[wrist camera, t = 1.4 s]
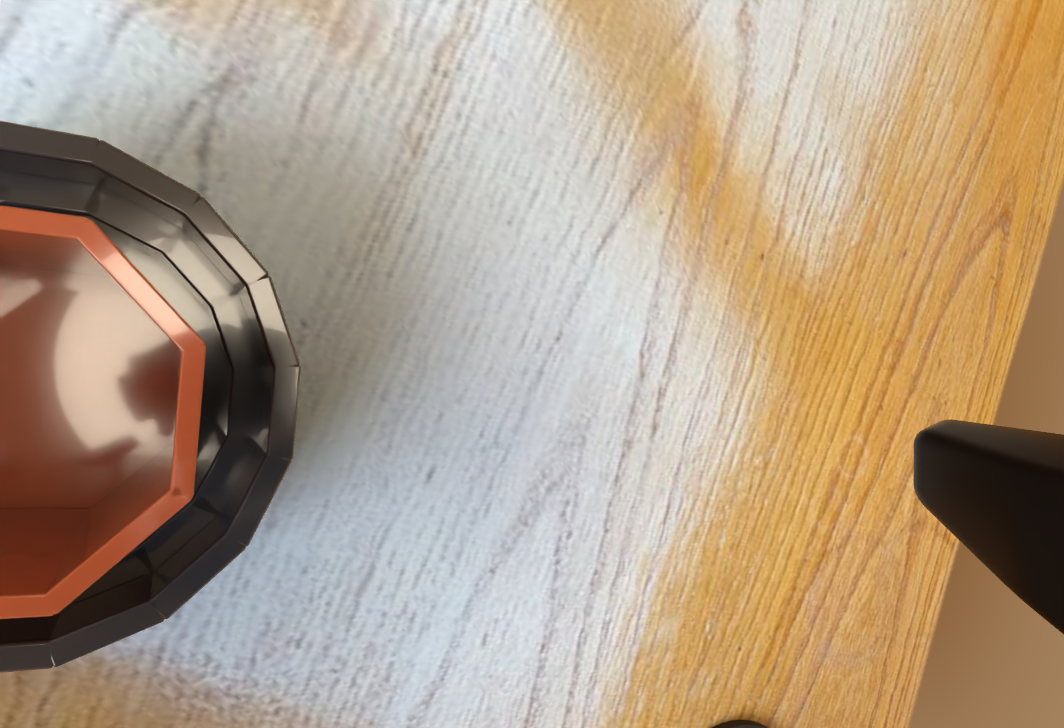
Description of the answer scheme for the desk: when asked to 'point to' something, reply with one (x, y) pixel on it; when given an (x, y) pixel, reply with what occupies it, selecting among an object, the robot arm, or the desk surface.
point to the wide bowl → (228, 387)
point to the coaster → (741, 725)
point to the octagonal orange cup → (85, 409)
